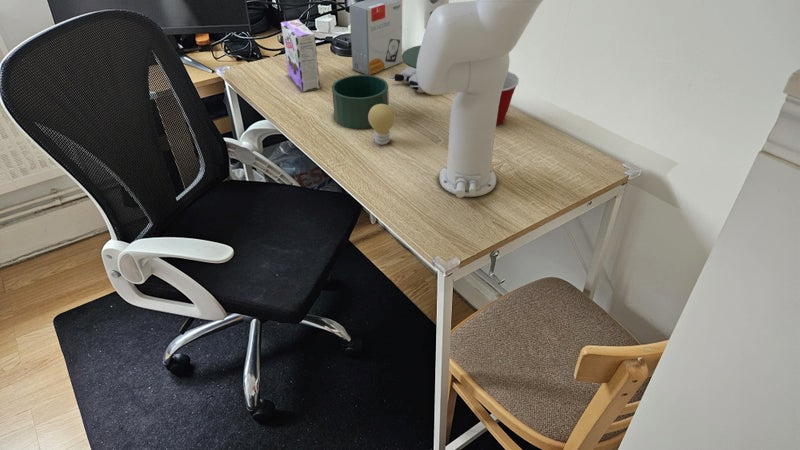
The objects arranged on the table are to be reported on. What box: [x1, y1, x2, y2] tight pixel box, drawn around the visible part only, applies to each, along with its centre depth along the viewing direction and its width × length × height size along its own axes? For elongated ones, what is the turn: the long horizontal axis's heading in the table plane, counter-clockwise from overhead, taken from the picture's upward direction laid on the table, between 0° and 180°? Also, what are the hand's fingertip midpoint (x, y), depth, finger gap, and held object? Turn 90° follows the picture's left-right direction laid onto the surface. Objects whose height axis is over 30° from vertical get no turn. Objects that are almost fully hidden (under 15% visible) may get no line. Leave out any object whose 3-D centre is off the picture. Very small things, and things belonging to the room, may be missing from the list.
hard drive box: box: [349, 0, 403, 76], centre depth 160 cm, size 16×8×20 cm, turn 136°
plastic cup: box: [496, 71, 520, 127], centre depth 133 cm, size 11×11×12 cm
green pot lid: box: [402, 44, 421, 68], centre depth 125 cm, size 16×16×6 cm
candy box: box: [280, 18, 321, 92], centre depth 152 cm, size 14×6×16 cm, turn 27°
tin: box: [331, 74, 390, 130], centre depth 137 cm, size 15×15×8 cm
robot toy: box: [389, 66, 426, 94], centre depth 153 cm, size 12×4×15 cm
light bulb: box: [368, 104, 395, 146], centre depth 126 cm, size 6×6×10 cm
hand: (433, 54), depth 126 cm, fingers closed on green pot lid, 2 cm apart
